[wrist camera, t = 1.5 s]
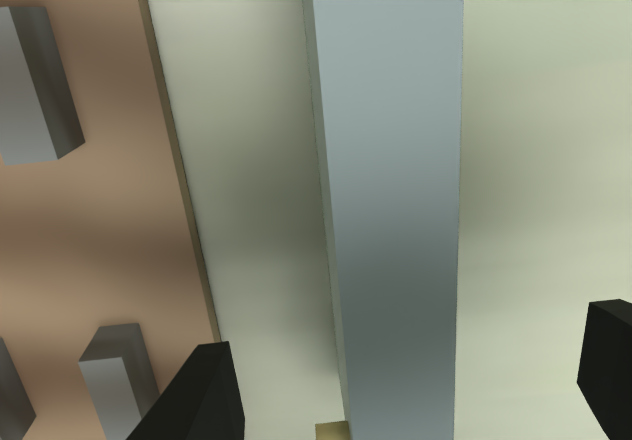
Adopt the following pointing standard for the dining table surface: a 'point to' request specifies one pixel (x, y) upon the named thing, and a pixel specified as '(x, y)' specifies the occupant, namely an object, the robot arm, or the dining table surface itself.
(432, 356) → the door panel
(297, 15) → the dining table surface
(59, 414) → the hinge rail
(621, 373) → the robot arm
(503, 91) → the dining table surface
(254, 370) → the dining table surface
